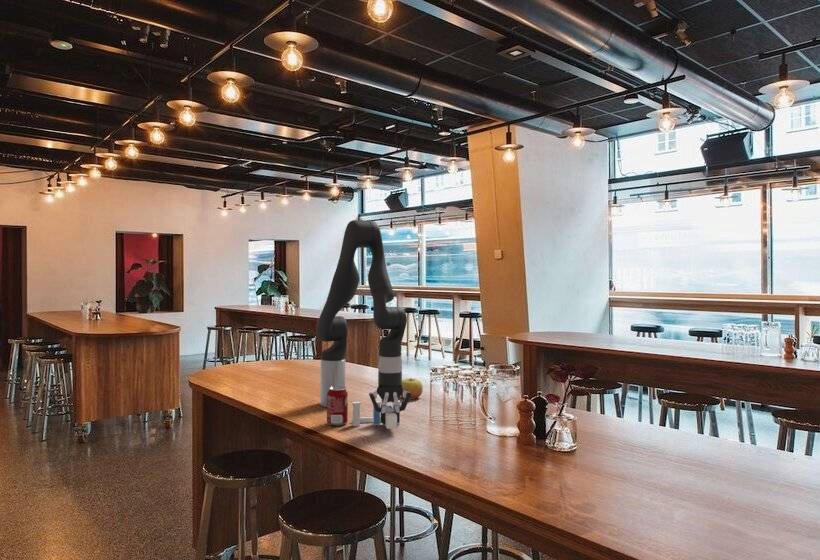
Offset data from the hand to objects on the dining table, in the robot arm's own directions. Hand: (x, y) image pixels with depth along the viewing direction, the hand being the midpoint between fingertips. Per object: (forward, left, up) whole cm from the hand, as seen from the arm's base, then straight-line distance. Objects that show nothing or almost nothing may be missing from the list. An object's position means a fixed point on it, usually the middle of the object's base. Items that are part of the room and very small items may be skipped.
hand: (389, 423), depth 179 cm
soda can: (-10, -16, -3) cm, 19 cm away
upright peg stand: (-9, -3, -2) cm, 10 cm away
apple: (-44, +15, -3) cm, 46 cm away
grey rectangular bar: (-2, 0, 0) cm, 2 cm away
